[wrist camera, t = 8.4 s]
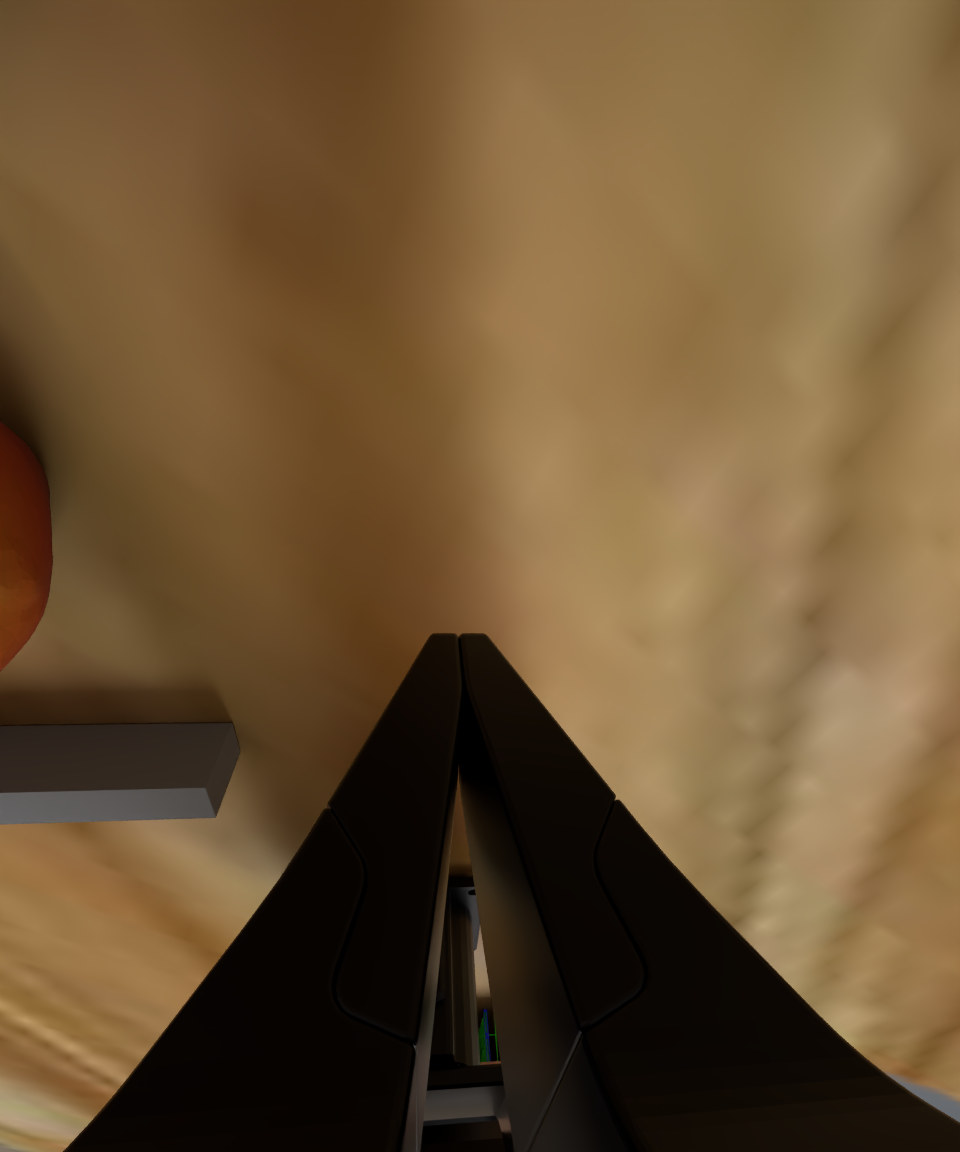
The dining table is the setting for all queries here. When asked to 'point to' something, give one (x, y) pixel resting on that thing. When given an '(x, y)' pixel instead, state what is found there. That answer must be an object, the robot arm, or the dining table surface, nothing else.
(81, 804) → the corral
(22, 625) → the fruit
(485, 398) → the dining table surface
